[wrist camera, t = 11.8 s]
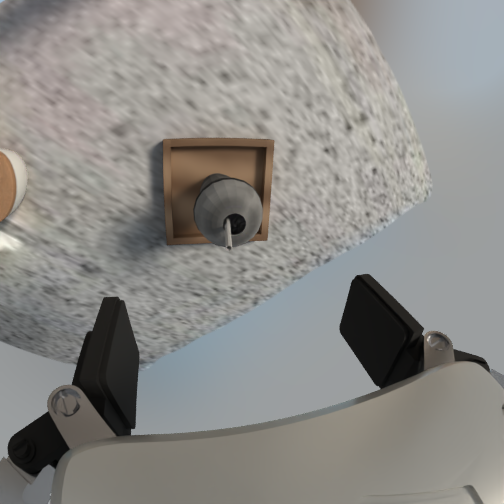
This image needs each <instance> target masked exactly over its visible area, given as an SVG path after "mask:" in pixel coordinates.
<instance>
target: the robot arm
mask: <svg viewBox="0 0 504 504" xmlns="http://www.w3.org/2000/svg"><path fill="white" fill-rule="evenodd" d="M423 330H424V328H423V327H422V326H421V325H420V324H419V323H418V322H417V321H416V320H415V319H414V318H413V317H412V315H410V314H409V312H408V311H407V310H405V309H404V307H403V306H401V305H400V303H398V302H397V300H396V299H394V297H393V296H391V295H390V294H389V293H388V292H387V291H386V290H385V289H384V288H383V287H382V286H381V285H380V284H379V283H378V282H377V281H376V280H375V279H374V278H373V277H372V276H371V275H369V274H363V275H357V276H356V277H355V278H354V279H353V280H352V282H351V286H350V290H349V294H348V298H347V302H346V306H345V309H344V313H343V316H342V320H341V323H340V333H341V335H342V336H343V337H344V339H345V340H346V342H347V343H348V345H349V346H350V348H351V349H352V351H353V352H354V354H355V355H356V357H357V358H358V360H359V361H360V362H361V364H362V365H363V367H364V368H365V370H366V371H367V373H368V374H369V376H370V377H371V379H372V380H373V382H374V383H375V385H376V386H379V387H380V388H381V389H380V390H378V391H375V392H372V393H370V394H367V395H364V396H361V397H358V398H355V399H352V400H350V401H346V402H343V403H340V404H337V405H334V406H330V407H327V408H323V409H320V410H316V411H312V412H309V413H305V414H301V415H296V416H292V417H288V418H284V419H279V420H274V421H269V422H264V423H258V424H253V425H247V426H241V427H234V428H226V429H219V430H210V431H199V432H188V433H174V434H151V435H131V429H135V425H136V424H135V423H136V398H137V382H138V369H139V350H138V347H137V344H136V341H135V338H134V334H133V331H132V327H131V324H130V320H129V317H128V313H127V309H126V306H125V302H124V301H123V300H120V299H119V297H104V299H103V301H102V304H101V307H100V310H99V313H98V316H97V319H96V322H95V325H94V328H93V331H89V332H88V333H87V334H86V336H85V340H84V343H83V346H82V349H81V353H80V356H79V359H78V363H77V366H76V370H75V374H74V378H73V382H72V385H63V386H60V387H58V388H56V389H55V390H54V391H53V392H52V393H51V394H50V396H49V398H48V402H47V407H48V412H47V413H45V414H44V415H42V416H41V417H39V418H38V419H36V420H35V421H33V422H32V423H31V424H29V425H28V426H26V427H25V428H23V429H22V430H20V431H19V432H17V433H16V434H14V436H12V437H11V439H10V441H9V443H8V455H9V456H8V458H7V459H5V458H4V457H3V458H2V460H1V461H0V504H48V502H49V500H50V499H51V501H50V504H504V375H502V374H500V373H498V372H497V371H495V370H493V369H491V370H490V369H489V366H488V364H487V362H486V361H485V360H484V359H483V358H481V357H479V356H476V355H472V354H469V353H465V352H462V351H458V350H455V349H453V345H452V342H451V340H450V339H449V338H448V337H447V336H446V335H445V334H443V333H441V332H438V331H429V332H427V333H426V334H425V335H424V336H423V335H422V332H423ZM50 493H51V496H50Z"/></svg>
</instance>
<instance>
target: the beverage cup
mask: <svg viewBox="0 0 504 504" xmlns="http://www.w3.org/2000/svg"><path fill="white" fill-rule="evenodd" d="M193 214H194V221H195V223H196V226H197V228H198V230H199V231H200V232H201V233H202V234H203V235H204V237H205V238H206V239H207V240H209V241H210V242H212V243H214V244H215V245H218V246H223V247H226V250H227V251H231V250H232V247H237V246H239V245H242V244H245V243H246V242H248V241H249V240H250V239H252V238H253V237H254V236H255V234H256V233H257V232H258V230H259V228H260V225H261V222H262V219H263V208H262V203H261V200H260V197H259V194H258V193H257V192H256V190H255V189H254V187H253V186H251V185H250V184H248V183H247V182H245V181H244V180H240V179H237V178H231V177H229V176H227V175H224V174H220V173H214V174H211V175H209V176H208V177H206V178H205V179H204V181H203V182H202V185H201V188H200V193H199V195H198V196H197V198H196V201H195V204H194V208H193Z"/></svg>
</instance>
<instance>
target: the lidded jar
mask: <svg viewBox="0 0 504 504" xmlns="http://www.w3.org/2000/svg"><path fill="white" fill-rule="evenodd" d="M27 185H28V172H27V168H26V165H25V163H24V161H23V159H22V158H21V157H20V155H18V154H17V153H16V152H14V151H12V150H9V149H0V222H1V221H2V220H4V219H5V218H6V217H7V216H8V215H10V214H11V213H12V212H13V211H14V210H15V209H16V208H17V207H18V206H19V204H20V203H21V201H22V200H23V198H24V196H25V193H26V190H27Z"/></svg>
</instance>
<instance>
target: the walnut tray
mask: <svg viewBox="0 0 504 504" xmlns="http://www.w3.org/2000/svg"><path fill="white" fill-rule="evenodd" d="M273 153H274V140H268V139H247V138H180V139H164V140H163V180H164V206H165V224H166V239H167V245H178V244H198V243H212V242H210V241H209V240H207V239H206V238H205V237H204V235H203V234H202V233H201V232H200V231H199V230H198V228H197V226H196V223H195V221H194V214H193V208H194V204H195V201H196V198H197V196H198V195H199V193H200V188H201V185H202V182H203V181H204V179H205V178H206V177H208V176H209V175H211V174H214V173H220V174H224V175H227V176H229V177H231V178H237V179H240V180H244V181H245V182H247V183H248V184H250V185H251V186H253V187H254V189H255V190H256V192H257V193H258V194H259V197H260V200H261V203H262V208H263V219H262V222H261V225H260V228H259V230H258V232H257V233H256V234H255V236H254V237H253V238H252V239H250V240H249V241H266V240H267V238H268V225H269V211H270V197H271V183H272V168H273Z"/></svg>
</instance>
